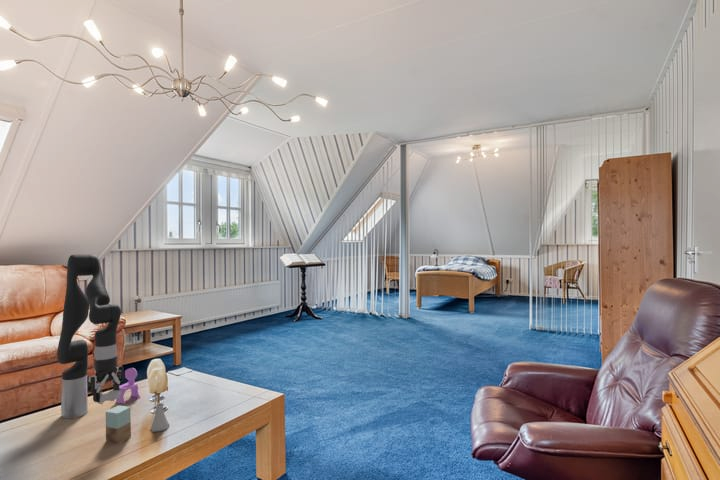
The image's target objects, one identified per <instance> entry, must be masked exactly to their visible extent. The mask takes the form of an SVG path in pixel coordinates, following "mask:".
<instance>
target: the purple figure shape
mask: <svg viewBox="0 0 720 480" xmlns="http://www.w3.org/2000/svg"><path fill="white" fill-rule="evenodd" d="M137 377H138V371H137V370H136V368H134V367H130V368H127V369H125V370H124V379H126V380H128V381H127V382H126V383H123V384H121V385H120V384H119V391H120V393H121V395H120V397H119V398H118V399H115V402H116V403H119V404H122V405H126V401H125V399H124V396H125V394H126V392H127V391H128V390H130V396H131V397H134V398H139V399H140V398H141V395H140V394H139V386H138V383H135V381H136V378H137Z"/></svg>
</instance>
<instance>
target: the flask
mask: <svg viewBox="0 0 720 480" xmlns="http://www.w3.org/2000/svg"><path fill="white" fill-rule="evenodd" d="M164 404H165V403H163V402H159V403H156V404H155V415H154V418H153V420H152V424H151V425H150V431H151V432H153V433H155V432H161V431H165V430H167V429H168V428H169V427H170V423H169V420H168V419H167V416H166V414H165V412H164V406H165V405H164ZM168 430H169V429H168Z"/></svg>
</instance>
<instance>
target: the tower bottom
mask: <svg viewBox="0 0 720 480" xmlns="http://www.w3.org/2000/svg"><path fill="white" fill-rule="evenodd" d="M131 429H132V423H131V422H129V423H128V424H126V425H124V426H122V427H120V428H118V429H116V428H110V427H106V426H105V443H108V444H109V443H111V444H115V445H116V444H117V445H120V444H121V443H122V442H124V441H126V440H128V439H130V438H131V437H132V432H131V431H132V430H131Z"/></svg>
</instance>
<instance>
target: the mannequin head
mask: <svg viewBox="0 0 720 480" xmlns="http://www.w3.org/2000/svg"><path fill="white" fill-rule="evenodd" d="M120 395H121V393H120V391H118V390H113V389H112V390H110V391H107V392H106V393H103V392H100V402H96V403H97V404H99V405H103V404H104V402H107V401H110V402H114V401H116V399H118V398H119V397H120Z"/></svg>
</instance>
